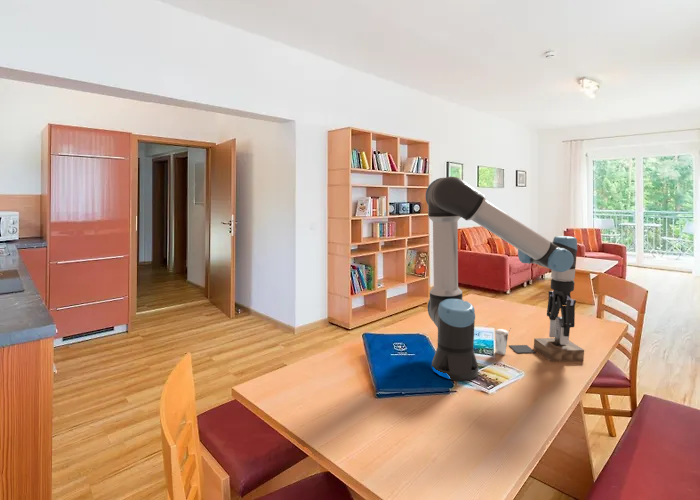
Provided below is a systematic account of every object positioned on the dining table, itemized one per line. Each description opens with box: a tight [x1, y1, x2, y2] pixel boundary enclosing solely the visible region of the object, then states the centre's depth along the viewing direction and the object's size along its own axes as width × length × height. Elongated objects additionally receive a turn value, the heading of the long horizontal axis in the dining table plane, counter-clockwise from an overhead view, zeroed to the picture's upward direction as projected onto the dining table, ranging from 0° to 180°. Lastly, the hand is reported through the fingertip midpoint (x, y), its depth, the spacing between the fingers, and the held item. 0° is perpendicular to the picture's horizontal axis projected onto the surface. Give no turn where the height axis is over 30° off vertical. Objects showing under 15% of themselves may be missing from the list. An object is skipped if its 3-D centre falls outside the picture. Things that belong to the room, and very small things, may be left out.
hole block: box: [533, 337, 585, 362], centre depth 146 cm, size 12×12×4 cm
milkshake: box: [494, 327, 512, 356], centre depth 147 cm, size 4×5×10 cm
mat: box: [508, 344, 537, 354], centre depth 151 cm, size 7×7×1 cm
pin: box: [554, 316, 563, 346], centre depth 146 cm, size 3×3×14 cm
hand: (558, 340), depth 146 cm, fingers open, 7 cm apart
